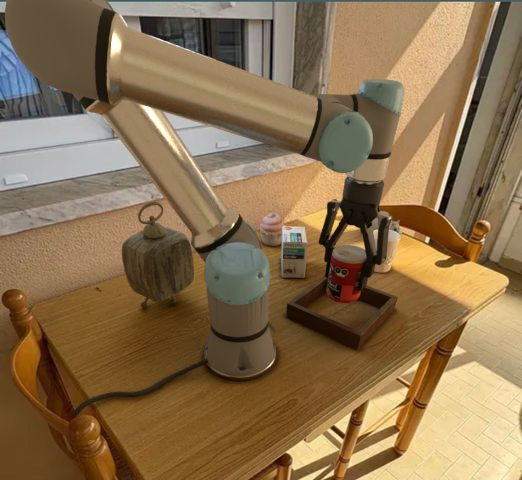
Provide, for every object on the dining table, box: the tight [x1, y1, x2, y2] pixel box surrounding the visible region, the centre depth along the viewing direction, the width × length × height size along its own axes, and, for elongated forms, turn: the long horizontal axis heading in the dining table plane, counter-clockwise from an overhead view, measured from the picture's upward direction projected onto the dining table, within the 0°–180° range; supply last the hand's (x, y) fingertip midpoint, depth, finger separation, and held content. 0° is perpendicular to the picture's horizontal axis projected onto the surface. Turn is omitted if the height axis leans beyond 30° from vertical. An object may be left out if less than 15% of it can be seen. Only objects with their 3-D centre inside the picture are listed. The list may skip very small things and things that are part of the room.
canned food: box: [325, 244, 367, 304], centre depth 87 cm, size 8×8×11 cm
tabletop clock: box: [121, 201, 195, 309], centre depth 89 cm, size 14×9×25 cm, turn 145°
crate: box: [285, 274, 399, 351], centre depth 93 cm, size 19×19×4 cm
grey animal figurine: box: [373, 210, 403, 236], centre depth 123 cm, size 7×12×8 cm, turn 36°
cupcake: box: [257, 211, 285, 247], centre depth 120 cm, size 9×9×10 cm
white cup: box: [373, 229, 402, 274], centre depth 108 cm, size 8×8×10 cm
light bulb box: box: [280, 225, 309, 279], centre depth 107 cm, size 11×7×11 cm, turn 179°
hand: (345, 281), depth 88 cm, fingers closed on canned food, 8 cm apart
